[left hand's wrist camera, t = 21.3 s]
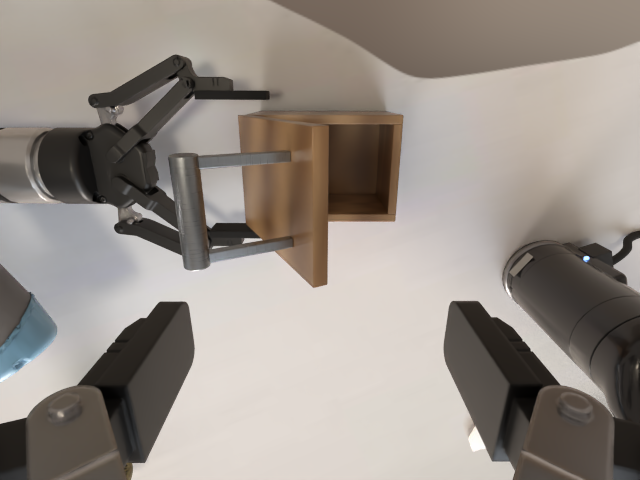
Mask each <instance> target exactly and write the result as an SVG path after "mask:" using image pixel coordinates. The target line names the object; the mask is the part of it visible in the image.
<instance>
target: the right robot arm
mask: <svg viewBox="0 0 640 480" xmlns="http://www.w3.org/2000/svg"><path fill="white" fill-rule="evenodd" d="M177 77H178V78H179V82H178V83H177V84H176V85H175V86H174V87H173V88H172V89H171V90H170V91H169V92H168V93H167V94H166V95H165V96H164V97H163V98H162V99H161V100H160V101H159V102H158V103H157V104H156V105H155V106H154V107H153V108H152V109H151V110H150V111H149V112H148V113H147V114H146V115H145V116H144V118H143V119H142V120H141V121H140V122H139V123H138V124H136V125H135V126H133V127H132V128H131V129H130V130H128V129H126V128H125V127H123V126H122V125H120V124H118V123H116V118H117V116H119V115H121V114H122V113H123V110H124V108H123V106H125V105H129V104H132V103H134V102H136V101H137V100H139V99H141V98H142V97H144V96H146V95H148V94H149V93H151V92H153V91H155V90H156V89H158V88H160V87H162V86H163V85H165V84H167V83H169V82H170V81H172V80H174V79H175V78H177ZM194 95H195V99H231V100H269V99H270V96H269V91H233V80H231V79H229V78H225V77H198V76H197V75H196V74H195V72H194V70H193V68H192V62H191V60H190V59H188V58H186V57H183V56H180V55H173V56H171V57H169V58H168V59H166V60H164V61H163V62H161V63H159V64H157V65H156V66H154V67H152V68H151V69H149V70H147V71H146V72H144V73H142V74H140V75H139V76H137V77H135V78H134V79H132V80H130V81H129V82H127V83H125V84H123V85H122V86H120V87H118V88H117V89H115V90H113V91H112V92H108V93H99V94H92V95H90V96H89V98H88V101H89V104H90V105H91V106H92V107H94V108H97V111H98V114H99V117H100V121H101V124H102V125H100V126H99V127H97V128H55V129H52V128H0V203H46V204H59V203H68V204H111V205H113V206H116V207H118V217H119V222H118V223H117V224H115V226H114V229H115V231H116V232H117V233H119V234H126V235H135V236H138V237H141V238H143V239H145V240H148V241H150V242H152V243H155V244H157V245H159V246H161V247H164V248H166V249H168V250H171V251H173V252H175V253H178V254H180V255H182V250H181V243H180V236H179V232H178V231H176V230H173V229H171V228H169V227H167V226H164V225H162V224H160V223H158V222H155V221H153V220H151V219H147V218H142V214H141V213H137V212H135V211H134V210H133V209H132V207H131V205H133V204H135V203H138V204H139V205H141V206H142V207H143V208H145V209H147V210H151V211H153V212H154V213H156V214H157V215H159V216H160V217H161V218H163V219H164V220H165V221H167V222H168V223H170V224H171V225H172V226H174V227H175V228H177V229H178V222H177V215H176V208H175V202H174V201H173V200H172V199H170V198H169V197H168V196H167V195H166V193H165V192H164V191H163V190H162V189H160V188H159V187H157V186H156V183H157V181H158V180H159V177H158V172H157V169H156V167H155V158H156V157H155V150H152V148H151V147H150V145H149V144H148V142H149V141H150V140H151V139H152V138H153V137H154V136H155V135H156V134H157V132H158V131H159V130H160V129H161V128H162V127H163V126H164V125H165V124H166V123H167V122H168V121H169V120H170V119H171V118H172V117H173V116H174V115H175V114H176V113H177V112H178V111H179V110H180V109H181V108H182V107H183V106H184V105H185V104H186V103H187V102H188V101H189V100H190V99H191V98H192V97H193V96H194ZM206 226H207V225H206ZM178 230H179V229H178ZM207 235H208V244H209V250H210V249H212V247H213V246H233V245H239V244H242V243H243V241H244V238H260V237H259V236H258V235H257V234H256V233H255V232H254V231H253V230H252V229H251V228H250V227H249V226H248V225H247V224H246V223H216V224H215V225H214V226H213V227H212V229H211V228H209V227H208V226H207ZM56 334H57V326H56V324H55V323H54V321H53V320H52V319H51V318H50V316H49V315H48V314H47V312H46V311H45V310H44V309H43V307H42V306H41V305H40V304H39V302H38V301H37V300H36V299H35V296H34V295H33V294H32V293H31V292H28V291H27V290H26V289H25V288H24V287H23V286H22V285H21V284H20V283H19V282H18V281H17V280H16V279H15V278H14V277H13V276H12V275H11V274H10V273H9V272H8V271H7V270H6V269H5V268H4V267H3V266H2V265H1V264H0V382H2V381H4V380H5V379H7V378H8V377H10V376H11V375H13V374H14V373H16V372H17V371H19V369H21V368H22V367H23V366H24V365H26V364H27V363H29V362H31V361H32V360H33V359H35V358H36V357H37V356H38V355H39V354H41V353H42V352H43V351H44V350H45V349H46V348H47V347H48V346H49V345H50V344H51V343H52V342H53V340H54V339H55V337H56Z"/></svg>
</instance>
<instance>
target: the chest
mask: <svg viewBox="0 0 640 480" xmlns="http://www.w3.org/2000/svg"><path fill="white" fill-rule="evenodd" d="M247 115H253V116H260V117H268V118H276V119H283V120H291V121H298V122H306V123H314V124H321V125H328V126H329V159H328V221H356V222H394V221H395V214H396V203H397V191H398V178H399V165H400V152H401V139H402V126H403V125H402V124H403V115H400V114H395V113H391V112H387V111H259V112H255V113H251V114H247Z"/></svg>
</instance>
